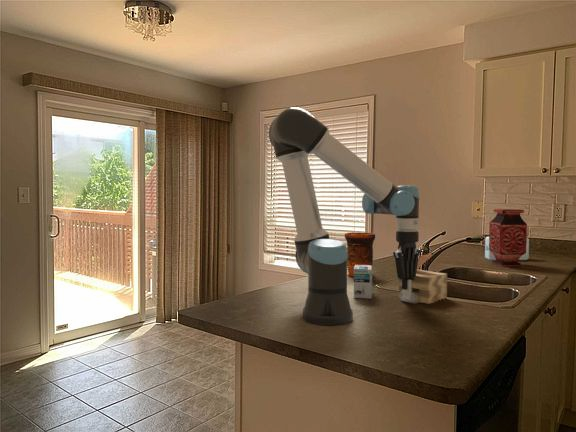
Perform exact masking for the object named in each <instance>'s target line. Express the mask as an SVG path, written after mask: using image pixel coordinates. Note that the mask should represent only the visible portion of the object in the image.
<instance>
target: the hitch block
mask: <svg viewBox="0 0 576 432" xmlns="http://www.w3.org/2000/svg"><path fill="white" fill-rule="evenodd" d="M413 278H415V279H414V280H412V288H411V291H414V292H415V291H419V290H420V299H419V303H422V304H423V303H424V304H427V305H429V304H433V303H436V302H439V301H438V300H440V301H442V300H441V299H443V298H447V299H448V273H446V272H445V273H444V272H437V271H430V270H424V269H417V272H416V277H413ZM400 291H402V279H399V278H398V298H399V299H400ZM443 300H444V299H443ZM435 301H436V302H435Z"/></svg>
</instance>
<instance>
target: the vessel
mask: <svg viewBox="0 0 576 432" xmlns="http://www.w3.org/2000/svg"><path fill="white" fill-rule="evenodd" d="M344 239H345V240H346V247H347V253H348V258H347V276H350V277H354V266H355V265H372V266H373V265H374V264H373V260H374V257H373V256H374V255H373V254H374V253H373V251H374V249H373V245H374V241H375V240H376V234H375V233H374V232H357V231H356V232H354V231H351V232H345V233H344ZM373 277H374V274H372V278H373Z"/></svg>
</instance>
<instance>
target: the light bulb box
mask: <svg viewBox="0 0 576 432" xmlns="http://www.w3.org/2000/svg"><path fill="white" fill-rule="evenodd" d="M372 275H373V264H372V265H355V266H354V276H353V298H354V299H356V298H357V299H369V300H370V299H373V277H372Z"/></svg>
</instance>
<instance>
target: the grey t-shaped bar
mask: <svg viewBox="0 0 576 432" xmlns="http://www.w3.org/2000/svg"><path fill="white" fill-rule="evenodd" d="M399 300H400V301H401V302H405V303H408V304H409V303H410V304H414V305H415V304H419V303H420V302H419V301H420V290H419V291H415V292H414V291H411V299H405V298H402V291H400V298H399Z"/></svg>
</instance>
